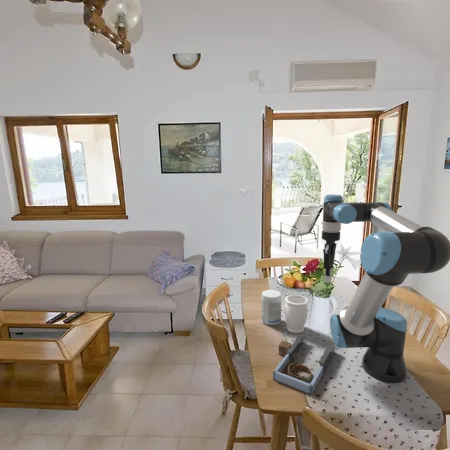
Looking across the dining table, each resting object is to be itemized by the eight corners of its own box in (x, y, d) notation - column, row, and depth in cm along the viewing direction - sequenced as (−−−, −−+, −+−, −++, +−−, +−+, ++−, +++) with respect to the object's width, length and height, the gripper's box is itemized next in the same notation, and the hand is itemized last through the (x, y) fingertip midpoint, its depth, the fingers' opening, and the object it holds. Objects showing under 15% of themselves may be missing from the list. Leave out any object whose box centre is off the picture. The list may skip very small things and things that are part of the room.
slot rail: (300, 341, 140) (301, 332, 139) (334, 351, 132) (334, 342, 131) (286, 360, 127) (286, 351, 126) (322, 373, 119) (323, 363, 118)
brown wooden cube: (290, 351, 132) (291, 343, 131) (287, 356, 129) (288, 348, 128) (281, 349, 134) (281, 340, 133) (278, 354, 131) (278, 345, 130)
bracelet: (283, 371, 120) (283, 364, 120) (302, 366, 123) (303, 359, 123) (295, 386, 112) (295, 379, 112) (316, 380, 115) (316, 373, 115)
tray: (286, 360, 126) (286, 353, 126) (322, 373, 119) (323, 366, 118) (272, 379, 116) (273, 371, 115) (311, 394, 108) (312, 386, 108)
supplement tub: (283, 319, 158) (284, 292, 155) (276, 328, 150) (277, 299, 147) (265, 314, 163) (266, 288, 160) (258, 322, 155) (258, 294, 152)
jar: (307, 335, 144) (308, 305, 141) (283, 333, 146) (284, 303, 143) (306, 324, 154) (307, 295, 151) (284, 322, 156) (285, 293, 153)
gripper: (326, 226, 144) (323, 275, 149) (318, 232, 134) (315, 285, 139) (343, 228, 141) (340, 279, 145) (336, 234, 130) (332, 288, 135)
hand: (327, 281), depth 142 cm, fingers closed
